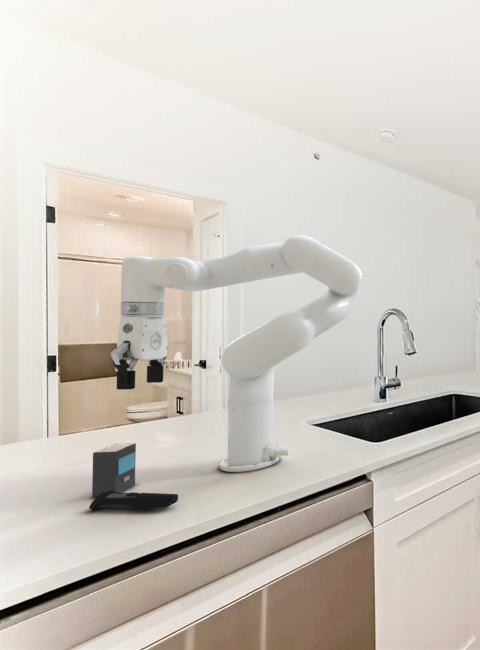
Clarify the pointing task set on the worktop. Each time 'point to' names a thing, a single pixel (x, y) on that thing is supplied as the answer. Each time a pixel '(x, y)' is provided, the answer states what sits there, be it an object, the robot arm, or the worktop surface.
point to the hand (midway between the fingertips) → (141, 385)
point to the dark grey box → (114, 468)
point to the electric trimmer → (133, 500)
